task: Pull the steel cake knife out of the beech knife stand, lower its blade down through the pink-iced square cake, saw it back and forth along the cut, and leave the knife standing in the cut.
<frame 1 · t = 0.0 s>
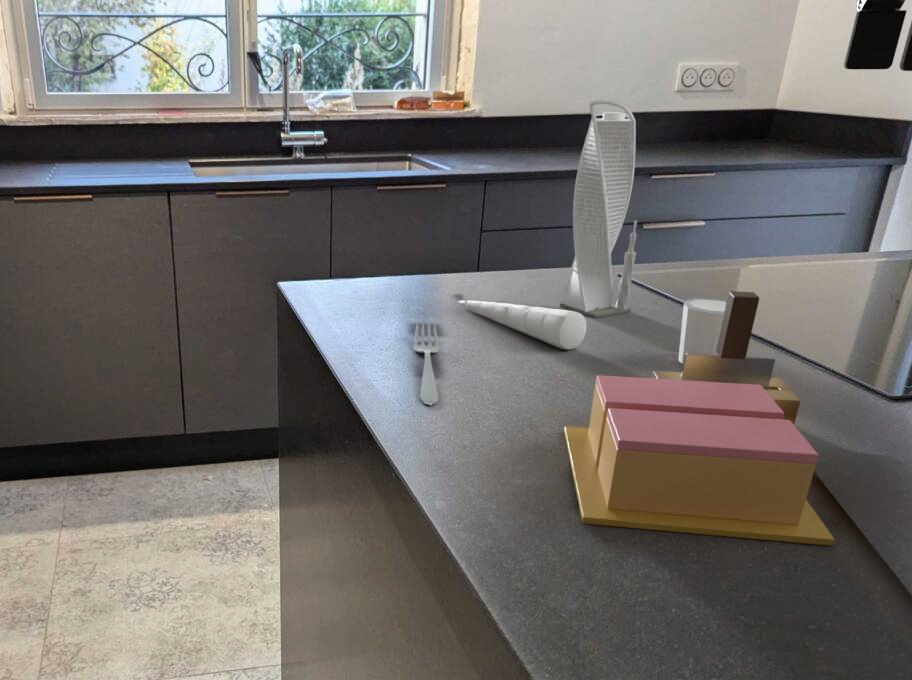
hand: (894, 69, 59), 32 cm above the counter, tool pointing down, fingers open, 9 cm apart
shot glass: (703, 363, 98), on the counter
cake: (680, 481, 71), on the counter
knife stand: (715, 422, 82), on the counter
unicorn horn: (512, 329, 111), on the counter
fork: (427, 369, 97), on the counter
skyscraper: (588, 309, 120), on the counter
knife: (729, 360, 79), in the knife stand
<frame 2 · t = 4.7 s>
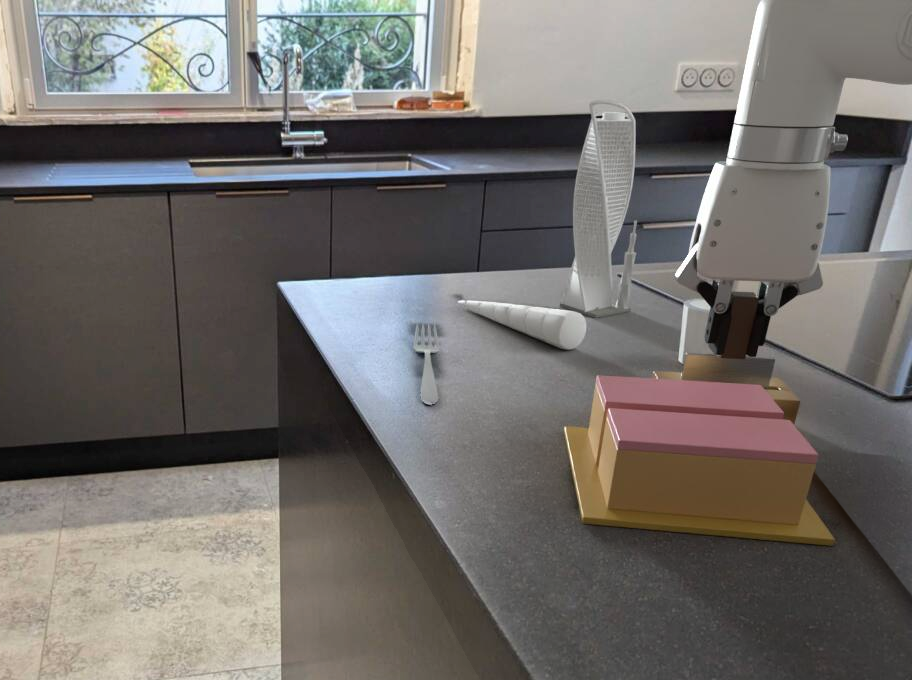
hand: (731, 350, 79), 8 cm above the counter, tool pointing down, fingers closed on knife, 2 cm apart
knife: (729, 360, 79), in the knife stand, touching gripper
everything else where it was.
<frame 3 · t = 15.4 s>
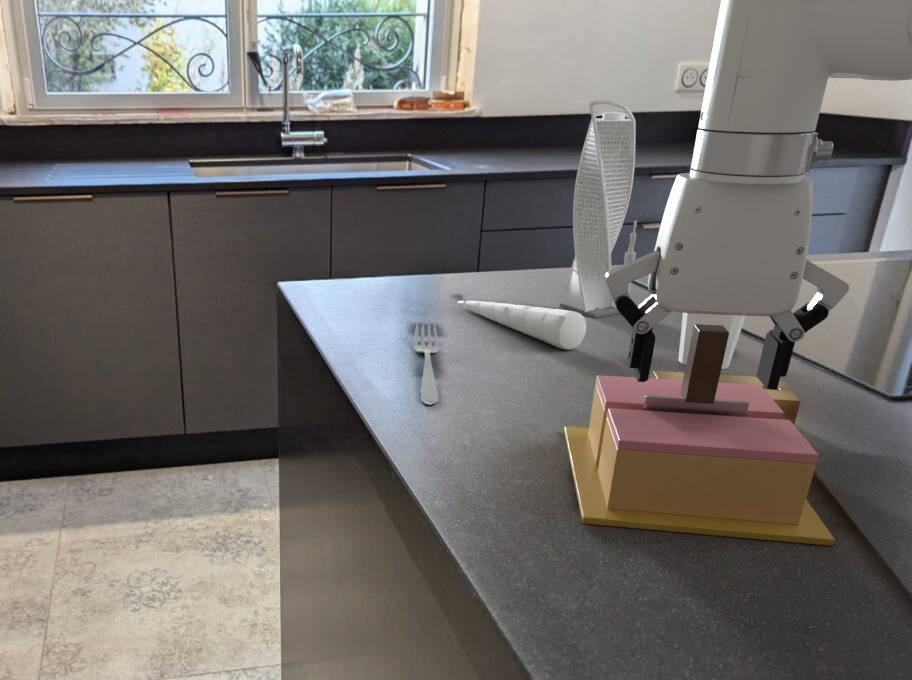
hand: (702, 380, 67), 9 cm above the counter, tool pointing down, fingers open, 9 cm apart
knife: (695, 404, 68), point 7 cm above the counter, touching cake
everything else where it was.
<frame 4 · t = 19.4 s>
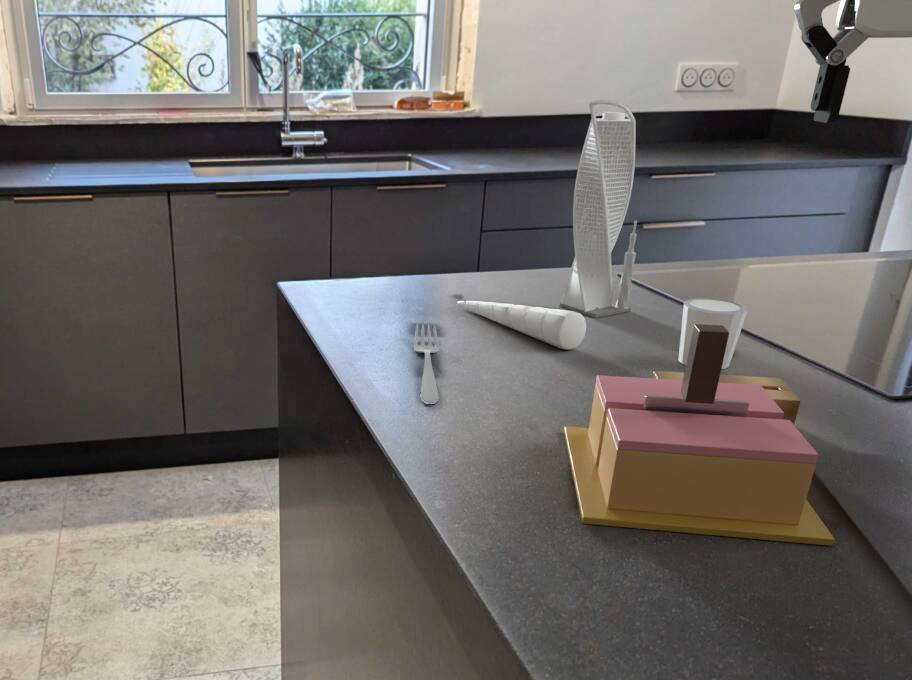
hand: (892, 122, 63), 28 cm above the counter, tool pointing down, fingers open, 9 cm apart
nothing on the counter moved.
at the end: knife inside the target area on the cake (0.1 cm from its centre), point 7.1 cm above the cake's base; the gripper is holding nothing; knife tilted 0° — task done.
